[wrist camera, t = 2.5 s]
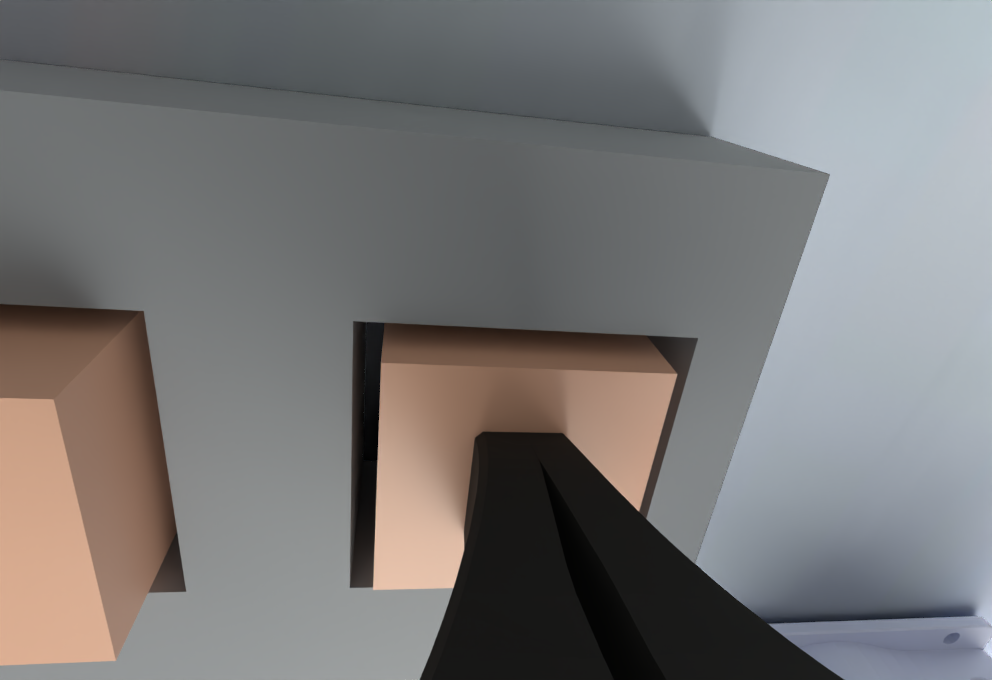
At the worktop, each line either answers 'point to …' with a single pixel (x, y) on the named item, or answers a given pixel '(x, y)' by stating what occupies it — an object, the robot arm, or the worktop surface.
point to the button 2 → (499, 425)
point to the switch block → (366, 319)
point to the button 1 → (77, 482)
